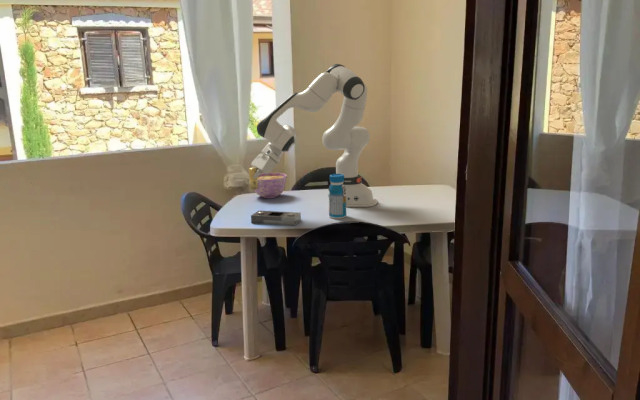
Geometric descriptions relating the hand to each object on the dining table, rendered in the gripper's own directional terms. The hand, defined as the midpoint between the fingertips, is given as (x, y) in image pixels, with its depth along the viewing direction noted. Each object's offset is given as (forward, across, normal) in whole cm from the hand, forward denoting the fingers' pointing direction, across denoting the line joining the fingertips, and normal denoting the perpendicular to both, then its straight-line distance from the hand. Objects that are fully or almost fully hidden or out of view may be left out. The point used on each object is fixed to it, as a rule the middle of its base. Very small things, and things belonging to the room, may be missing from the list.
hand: (252, 176), depth 248 cm
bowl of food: (+1, -34, +26) cm, 43 cm away
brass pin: (+4, 0, +4) cm, 6 cm away
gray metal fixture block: (+9, +15, +18) cm, 25 cm away
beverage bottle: (-10, +22, +38) cm, 45 cm away
